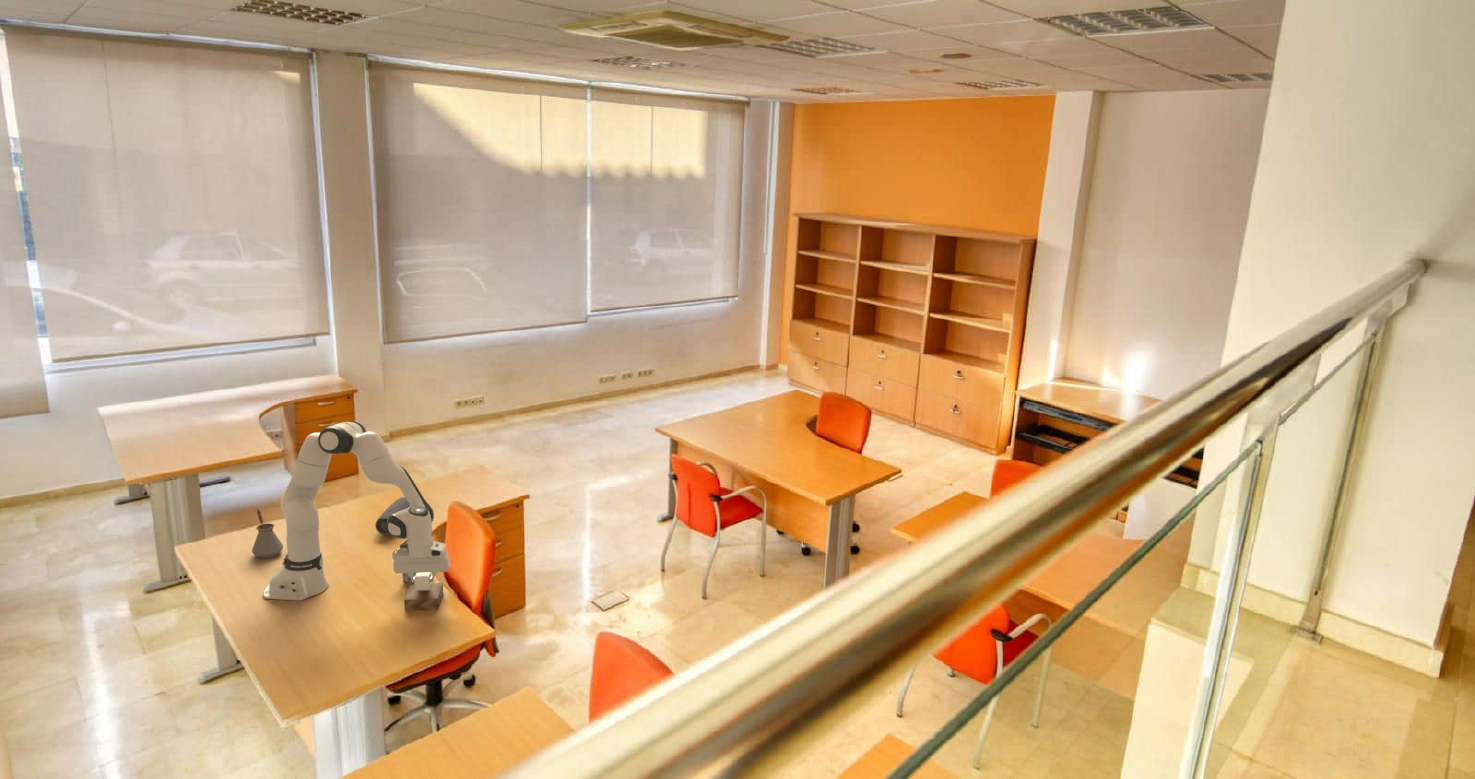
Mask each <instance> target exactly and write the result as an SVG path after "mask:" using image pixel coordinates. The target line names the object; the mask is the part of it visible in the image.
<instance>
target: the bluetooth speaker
mask: <svg viewBox="0 0 1475 779" xmlns="http://www.w3.org/2000/svg"><path fill="white" fill-rule="evenodd" d="M408 507H410V504H409V502H408V501H407V499H406V498H405V496H404V497H403V496H402V497H399V498H398V499H396V500H394V502H393V503H391V504H390V505H389V506H388V507H387V508H386V509H385V510H384V511H383V512H382V513H381V514H380V516H379V517H378V518H377V520H376V522H375V526H374V527H375V529H376V532H378V533H379V534H381V535H387V536H388V535H390V534H389V532H388V530H387V519H388V517H389V516H390V515H392V514H394V513H396V512H399V511H401V510H404V509H406V508H408Z"/></svg>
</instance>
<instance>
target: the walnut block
mask: <svg viewBox="0 0 1475 779" xmlns="http://www.w3.org/2000/svg"><path fill="white" fill-rule="evenodd" d="M407 589H408V590H407V592H406V595H405V596H404V600H403V601H404V603H403V604H404V610H405V611H406V612H411V611H413V612H415V611H431V610H432V611H433V610H434V611H435V610H437V611H438V610H439V609H440V606H441V602H442V599H443V596H444V583H443V582H431V586H430V588H429V590H415V583H410V584H409V587H408V588H407ZM405 611H404V612H405Z"/></svg>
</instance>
